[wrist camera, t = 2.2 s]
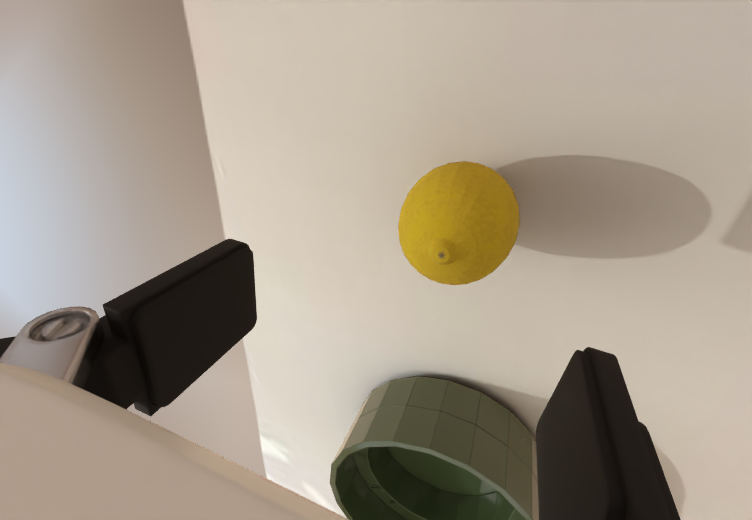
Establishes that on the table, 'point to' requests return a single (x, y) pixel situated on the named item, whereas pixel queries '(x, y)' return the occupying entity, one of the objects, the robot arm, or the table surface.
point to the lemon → (459, 223)
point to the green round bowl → (435, 457)
